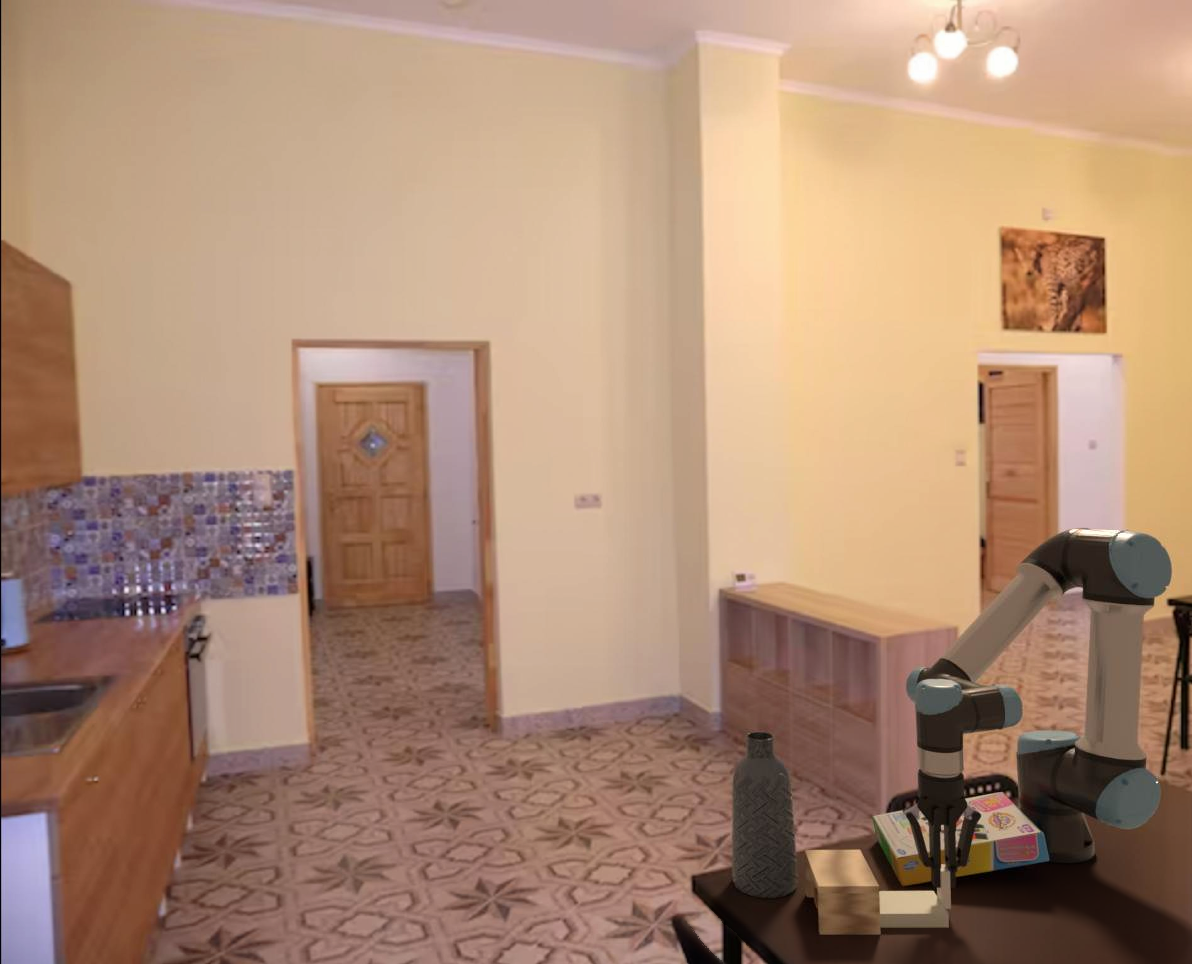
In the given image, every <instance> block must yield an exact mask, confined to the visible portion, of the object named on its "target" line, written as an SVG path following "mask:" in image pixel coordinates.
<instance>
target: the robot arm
mask: <svg viewBox="0 0 1192 964" xmlns="http://www.w3.org/2000/svg"><path fill="white" fill-rule="evenodd" d="M1172 574H1173V567H1172V562H1171V557H1170V555H1169V553H1168V551H1167V549H1166V548H1165V546H1163V545H1162V543H1161V541H1159V539H1157V538H1156V537H1154V536H1152V535H1150V534H1147V533H1144V532H1137V531H1132V530H1128V529H1127V530H1125V529H1124V530H1114V529H1101V528H1100V529H1099V528H1088V527H1077V528H1071V529H1066V530H1064V531H1061V532H1059V533H1057V534H1055V535H1053V536H1051V537H1050V538H1049V539H1047V540H1046V541H1044V542H1042V543H1041V544H1040V545H1039V546H1037V547H1036V548H1035V549H1034V550H1032V551H1031V552H1030V553H1028V555H1027V556H1026V557H1025V558H1023V560H1022V561H1021V562H1020V563H1019V564H1018V565H1017V567H1016V576H1015V577H1014V578H1013V579H1012V580H1011V581H1009V583H1008V584H1007V585H1006V586H1005V587H1004V588H1003V590H1001V592H1000V593H998V595H997V596H996V597H994V599H993V600H992V601H991V603H990V604H988V605H987V607H986V608H985V609H983V611H982V612H981V613H980V614H979V615H978V616H977V617H976V618H975V619H974V621H973V622H972V623H971V624H970V625H969V626H968V627H967V628H966V629H965V631H963V633H962V634H961V635H960V636H959V637H958V638H956V640H955V641H954V642H953V643H952V644H951V645H950V646H949V648H947V650H946V651H945V652H944V653H943V654H942V655H941V657H939V659H938V660H937V661H936V662H935V663H934V664H933V665H932V666H931V667H928V666H921V667H917V668H915V669H912V670H911V672H910V673H909V674H908V676H907V678H906V682H905V690H906V694H907V696H908V697H909V700H910V701H911V702H913V703H914V709H915V724H916V725H915V726H916V749H917V750H916V751H917V752H916V753H917V755H916V757H917V768H919V769H918V770H917V791H918V792H917V798H915V804H914V805H912V806H911V807H904V808H903V809H902V810H903V813H904V815H905V816H906V817H907V819H908V820H909V823H910V826H911V830H912V833H913V837H914V840H915V844H916V848H917V851H918V855H919V858H920V860H921V862H922V863H923V865H924V866H925V867H931V881H930V882H931V884H932V886H933V887H934V888H936V895H937V897H938V898H939V900H940V901H941V903H942V904H943V906H944V908H945V909H946V910H951V909H952V899H951V898H952V897H951V895H952V893H951V888H953V889H954V888H956V885H957V879H956V878H957V877H956V872H957V871H958V869H957V868H958V867H960V866H962V867H965V866H966V865H967V861H968V857H969V852H970V848H971V843H972V839H973V834H974V830H975V826H976V824H977V823H978V821H979V820H980V818H981V814H980V813H979V812H978V811H977V810H976V808H974V807H970V806H968V805H967V801H966V800H965V799H966V797H965V775H964V773H963V772H964V770H965V768H964V766H965V765H964V735H966V734H974V733H975V734H976V733H980V732H988V731H995V730H998V731H1001V730H1003V729H1007V728H1010V727H1014V726H1017V725H1018V724H1019V722H1021V720H1022V718H1023V714H1024V712H1023V711H1024V709H1023V702H1022V700H1021V699H1022V698H1021V697H1020V695H1019V693H1018V692H1017V690H1015V689H1014V688H1013V687H1012V686H1010V685H1007V684H996V683H992V684H991V685H983V684H980V683H977V681H978V680H979V679H980V678H981V677H982V675H984V673H986V671H988V669H989V668H990V667H991V666H992V665H993V664H994V662H995V661H997V660H998V658H999V657H1000V656H1001V655H1002V653H1004V652H1005V650H1006V649H1007V648H1009V646H1010V645H1011V643H1013V641H1015V639H1016V638H1018V636H1019V635H1020V634H1021V633H1022V632H1023V631H1024V629H1026V628H1027V627H1028V626H1029V624H1030V623H1031V622H1032V621H1033V619H1035V617H1037V616H1038V615H1039V613H1041V611H1042V610H1043V609H1044V608H1045V606H1047V604H1048V603H1049V602H1050V601H1056V600H1057V601H1058V600H1059V599H1060V598H1062V596H1063V595H1064V594H1065V593H1066V592H1068V591H1069V590H1072V589H1075V588H1082V593H1081V595H1082V597H1081V598H1082V601H1083V602H1084V603H1085V604H1086V605H1087V606H1088V607H1089V610H1090V619H1089V620H1090V622H1089V640H1088V641H1089V643H1088V663H1087V665H1088V666H1087V680H1086V681H1087V682H1086V701H1085V703H1086V704H1085V722H1084V734H1083V736H1082V737H1081V735H1080V734H1078V733H1075V732H1072V731H1064V730H1051V729H1049V730H1046V729H1045V730H1033V731H1027V732H1025V733H1022V734H1021V735H1020V736H1019V737H1018V738H1017V749H1016V750H1017V751H1016V769H1017V770H1016V771H1017V791H1018V806H1017V807H1018V809H1019V810H1020V811H1021V812H1022V813H1023V814H1024V815H1025V816H1026V817H1027V818H1028V819H1029V820H1030V821H1032V823H1033V824H1034V825H1035V826H1036V827H1037V828H1039V829H1040V830H1041V831H1042V832H1043V833H1044V836H1045V841H1046V846H1047V851H1048V855H1049V861H1048V862H1050V863H1057V864H1058V863H1059V864H1077V863H1079V864H1080V863H1085V862H1087V861H1090V860H1092V859H1093V858H1094V856H1095V853H1096V852H1095V851H1096V849H1095V840H1094V838H1093V836H1092V832H1091V830H1090V827H1089V825H1088V822H1087V819H1086V816H1085V815H1087V816H1089V817H1091V818H1093V819H1096V820H1098V821H1099V822H1100V823H1101V824H1102V823H1103V824H1105V825H1110V826H1114V827H1115V828H1118V829H1122V830H1133V829H1137V828H1139V827H1141V826H1143V825H1144V824H1146V823H1147V822H1148V821H1149V820H1150V818H1151V817H1152V816H1153V815H1154V814H1155V813H1156V811H1157V809H1158V807H1159V805H1160V801H1161V797H1162V796H1161V795H1162V788H1161V787H1162V786H1161V784H1160V780H1159V779H1158V777H1157V776H1156V775H1155V774H1154V773H1153V772H1152V771H1151V770H1150V769H1147V753H1146V751H1144V750H1143V749H1142V748H1141V746H1140V745H1139V743H1138V741H1139V740H1138V739H1139V723H1140V721H1139V719H1140V703H1141V702H1140V701H1141V700H1140V699H1141V684H1142V683H1141V682H1142V681H1141V680H1142V664H1143V663H1142V659H1143V658H1142V657H1143V642H1144V641H1143V640H1144V622H1145V621H1144V619H1145V614H1146V613H1147V612H1149V611H1150V610H1152V609H1153V608H1154V607H1155V598H1157V597H1159V596H1161V595H1163V594H1164V593H1165V592H1166V591H1167V587H1169V585H1170V584H1171V581H1172ZM920 811H921V812H922V814H923V815H924V816H925V818H926V819H927V820H928V825H929V849H930V857H929V856H928V852H927V849H926V845H925V841H924V838H923V834H922V831H921V827H920V824H919V822H918V821H917V820H919V818H920V816H919V812H920ZM963 813H964V820H963V824H962V828H961V833H960V837H959V841H958V846H957V850H956V834H955V832H956V822H957V821H958V820H959V818H960V817H961V815H962V814H963ZM941 825H944V851H945V863H946V865H945V864H941V839H940V832H941Z"/></svg>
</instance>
